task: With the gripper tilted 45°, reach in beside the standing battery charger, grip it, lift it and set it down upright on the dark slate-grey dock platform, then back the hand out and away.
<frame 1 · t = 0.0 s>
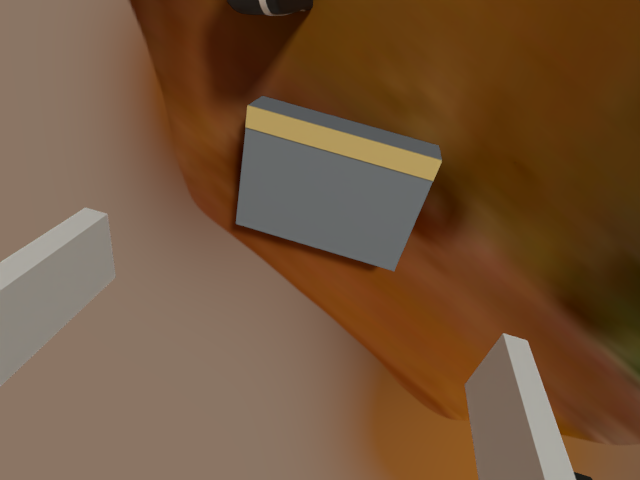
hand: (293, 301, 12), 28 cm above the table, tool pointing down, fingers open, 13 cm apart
dock: (334, 179, 40), on the table
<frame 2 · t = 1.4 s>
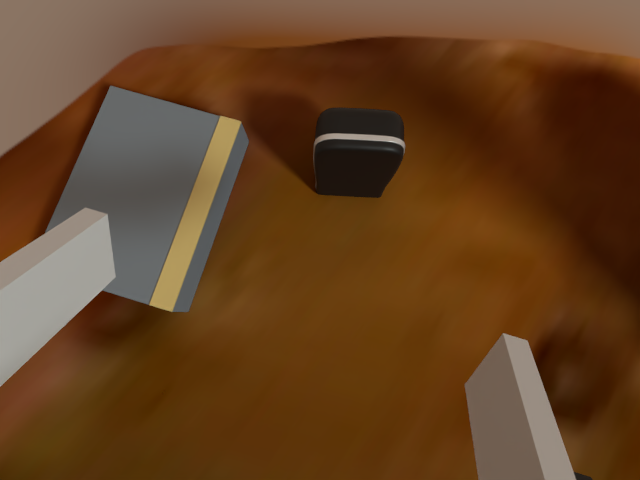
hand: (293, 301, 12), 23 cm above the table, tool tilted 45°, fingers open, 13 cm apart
battery charger: (348, 180, 38), on the table
dock: (158, 204, 37), on the table
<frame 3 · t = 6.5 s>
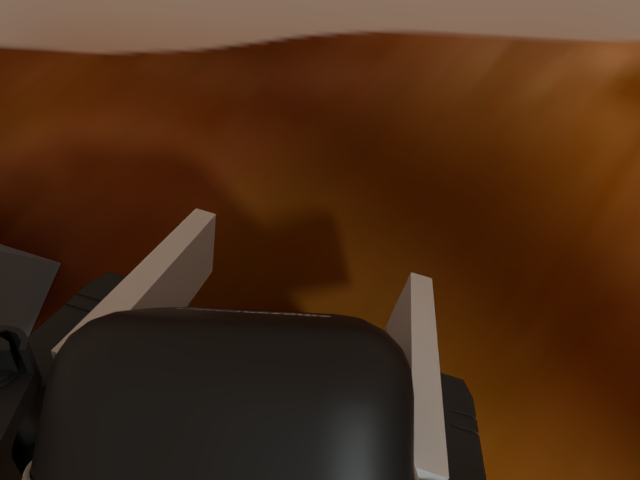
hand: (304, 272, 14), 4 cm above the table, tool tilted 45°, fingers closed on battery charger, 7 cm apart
battery charger: (281, 354, 17), on the table, touching gripper
when the fingers open (9 cm above the table, at t = 12.8 s): battery charger drops 1 cm, resting on dock.
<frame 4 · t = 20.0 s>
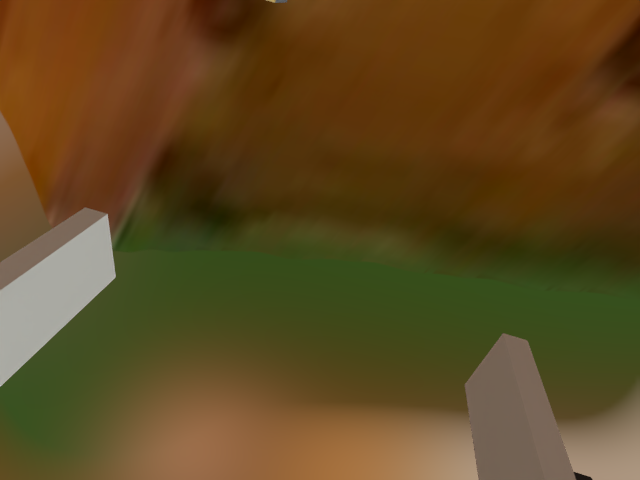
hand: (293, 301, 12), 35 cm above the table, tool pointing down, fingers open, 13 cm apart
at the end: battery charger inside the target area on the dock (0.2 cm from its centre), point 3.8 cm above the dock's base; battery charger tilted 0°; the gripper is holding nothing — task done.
